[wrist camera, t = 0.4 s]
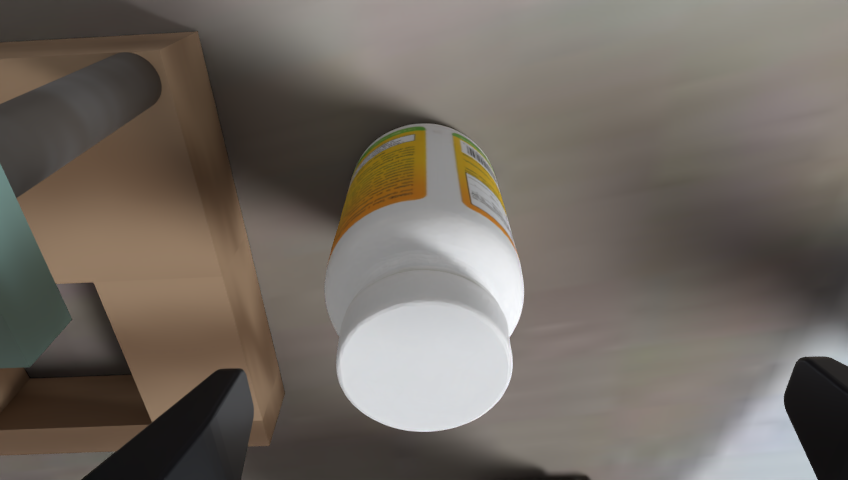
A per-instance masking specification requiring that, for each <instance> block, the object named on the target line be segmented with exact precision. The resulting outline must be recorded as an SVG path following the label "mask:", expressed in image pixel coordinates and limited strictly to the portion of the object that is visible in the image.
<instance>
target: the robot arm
mask: <svg viewBox="0 0 848 480" xmlns="http://www.w3.org/2000/svg"><path fill="white" fill-rule="evenodd" d="M784 405H785V409H786V412H787V414H788V416H789V418H790V420H791V423H792V425H793V427H794V429H795V431H796V433H797V436H798V438H799V440H800V442H801V444H802V446H803V448H804V451H805V453H806V455H807V457H808V459H809V461H810V464H811V466H812V468H813V470H814V472H815V474H816V477H817V479H818V480H848V366H846V365H844V364H842V363H840V362H838V361H836V360H834V359H832V358H829V357H803V358H800V359H799V360H798V361H797V362H796V364H795V366H794V369H793V372H792V375H791V377H790V380H789V383H788V385H787V388H786V391H785V394H784ZM253 418H254V405H253V401H252V396H251V392H250V388H249V384H248V379H247V375H246V373H245V371H244V370H243V369H241V368H222V369H218V370H216V371H215V372H213V373H212V374H211V375H210V376H208V377H207V378H206V379H205V380H204V381H202V382H201V383H200V384H199V385H197V386H196V387H195V388H194V389H192V390H191V391H190V392H189V393H187V394H186V395H185V396H184V397H183V398H181V399H180V400H179V401H178V402H176V403H175V404H174V405H173V406H171V407H170V408H169V409H168V410H167V411H165V412H164V413H163V414H162V415H160V416H159V417H158V418H157V419H155V420H154V421H153V422H152V423H151V424H149V425H148V426H147V427H146V428H144V429H143V430H142V431H141V432H139V433H138V434H137V435H136V436H135V437H133V438H132V439H131V440H130V441H128V442H127V443H126V444H125V445H123V446H122V447H121V448H120V449H118V450H117V451H116V452H115V453H114V454H112V455H111V456H110V457H109V458H107V459H106V460H105V461H104V462H102V463H101V464H100V465H99V466H98V467H96V468H95V469H94V470H93V471H91V472H90V473H89V474H88V475H86V476H85V477H84V478H83V479H82V480H241V476H242V471H243V466H244V461H245V457H246V452H247V447H248V442H249V438H250V433H251V428H252V423H253Z"/></svg>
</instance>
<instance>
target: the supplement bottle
mask: <svg viewBox="0 0 848 480" xmlns="http://www.w3.org/2000/svg"><path fill="white" fill-rule="evenodd" d="M324 291H325V302H326V307H327V311H328V314H329V317H330V319H331V322H332V325H333V326H334V328H335V330H336V332H337V334H338V335H339V343H338V349H337V356H336V371H337V376H338V380H339V383H340V386H341V388H342V390H343V392H344V393H345V395H346V397H347V398H348V399H349V400H350V402H351V403H352V404H353V405H354V406H355V407H356V408H357V409H358V410H360V411H361V412H362V413H364V414H365V415H366V416H368V417H370V418H371V419H373V420H375V421H378V422H380V423H382V424H384V425H387V426H390V427H393V428H397V429H401V430H406V431H418V432H432V431H441V430H446V429H451V428H455V427H458V426H461V425H464V424H466V423H469V422H471V421H473V420H475V419H477V418H479V417H480V416H482V415H483V414H485V413H486V412H487V411H489V410H490V409H491V408H492V407H493V406H494V405H495V404H496V403H497V402H498V401H499V400H500V398H501V397H502V396H503V394H504V392H505V390H506V389H507V387H508V384H509V381H510V379H511V374H512V367H513V364H512V351H511V345H510V338H509V337H510V336H511V334H512V333H513V331H514V329H515V327H516V325H517V323H518V321H519V318H520V315H521V311H522V307H523V301H524V283H523V276H522V270H521V265H520V261H519V257H518V253H517V250H516V247H515V243H514V240H513V236H512V233H511V229H510V226H509V222H508V218H507V215H506V211H505V207H504V204H503V201H502V197H501V194H500V190H499V186H498V183H497V180H496V177H495V174H494V171H493V169H492V166H491V164H490V162H489V160H488V158H487V157H486V155H485V154H484V152H483V151H482V150H481V149H480V147H479V146H478V145H477V144H476V143H475V142H473V141H472V140H471V139H470V138H468V137H467V136H465V135H464V134H462V133H460V132H458V131H456V130H454V129H452V128H449V127H446V126H442V125H437V124H426V123H423V124H412V125H407V126H403V127H400V128H397V129H394V130H392V131H390V132H388V133H386V134H384V135H382V136H381V137H379V138H378V139H377V140H375V141H374V142H373V143H372V144H371V145H370V146H369V147H368V148H367V149H366V150H365V152H364V153H363V154H362V156H361V158H360V159H359V161H358V163H357V165H356V167H355V170H354V172H353V175H352V178H351V182H350V185H349V189H348V193H347V196H346V200H345V204H344V207H343V211H342V215H341V218H340V222H339V225H338V229H337V232H336V235H335V238H334V242H333V246H332V249H331V254H330V257H329V261H328V265H327V272H326V278H325V289H324Z"/></svg>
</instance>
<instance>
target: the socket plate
mask: <svg viewBox="0 0 848 480" xmlns="http://www.w3.org/2000/svg"><path fill="white" fill-rule="evenodd" d="M88 282H94V285H95V287H96V290H97V292H98V294H99V297H100V299H101V302H102V304H103V306H104V309H105V311H106V313H107V316H108V318H109V321H110V323H111V325H112V328H113V330H114V333H115V335H116V337H117V340H118V342H119V345H120V347H121V349H122V352H123V354H124V356H125V359H126V361H127V364H128V366H129V368H130V371H131V373H132V375H111V376H86V377H61V378H36V379H30V378H29V376H28V374H27V373H26V371H25V369H24V367H31V365H32V364H33V363H34V362H35V361H36V360H37V359H38V358H39V356H40V355H41V354H42V353H43V352H44V351H45V350H46V348H47V347H48V346H49V345H50V344H51V343H52V342H53V341H54V339H55V338H56V337H57V336H58V335H59V334H60V333H61V331H62V330H63V329H64V328H65V327H66V326H67V325H68V324H69V322H70V321H71V320H72V318H71V316H70V314H69V312H68V309H67V307H66V305H65V303H64V301H63V299H62V296H61V294H60V292H59V290H58V288H57V286H56V284H65V283H88ZM222 368H241V369H243V370H244V371H245V373H246V375H247V379H248V384H249V388H250V392H251V396H252V401H253V405H254V418H253V423H252V428H251V433H250V438H249V442H248V446H270V442H271V439H272V435H273V432H274V429H275V425H276V422H277V418H278V415H279V412H280V408H281V405H282V401H283V398H284V395H285V391H284V387H283V383H282V379H281V375H280V370H279V366H278V362H277V358H276V354H275V350H274V346H273V341H272V337H271V333H270V329H269V325H268V321H267V317H266V312H265V308H264V304H263V300H262V296H261V292H260V288H259V283H258V279H257V275H256V271H255V267H254V263H253V259H252V254H251V250H250V246H249V242H248V238H247V234H246V230H245V225H244V221H243V217H242V213H241V209H240V205H239V201H238V196H237V192H236V188H235V184H234V180H233V176H232V172H231V167H230V163H229V159H228V155H227V151H226V147H225V143H224V138H223V134H222V130H221V126H220V122H219V118H218V114H217V109H216V105H215V101H214V97H213V93H212V89H211V85H210V80H209V76H208V72H207V68H206V64H205V60H204V56H203V51H202V47H201V43H200V39H199V35H198V31H197V32H179V33H161V34H143V35H125V36H107V37H89V38H71V39H53V40H35V41H17V42H0V455H27V454H54V453H82V452H110V451H117V450H118V449H120V448H121V447H122V446H123V445H125V444H126V443H127V442H128V441H130V440H131V439H132V438H133V437H135V436H136V435H137V434H138V433H139V432H141V431H142V430H143V429H144V428H146V427H147V426H148V425H149V424H151V423H152V422H153V421H154V420H155V419H157V418H158V417H159V416H160V415H162V414H163V413H164V412H165V411H167V410H168V409H169V408H170V407H171V406H173V405H174V404H175V403H176V402H178V401H179V400H180V399H181V398H183V397H184V396H185V395H186V394H187V393H189V392H190V391H191V390H192V389H194V388H195V387H196V386H197V385H199V384H200V383H201V382H202V381H204V380H205V379H206V378H207V377H208V376H210V375H211V374H212V373H213V372H215V371H216V370H218V369H222Z"/></svg>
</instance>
